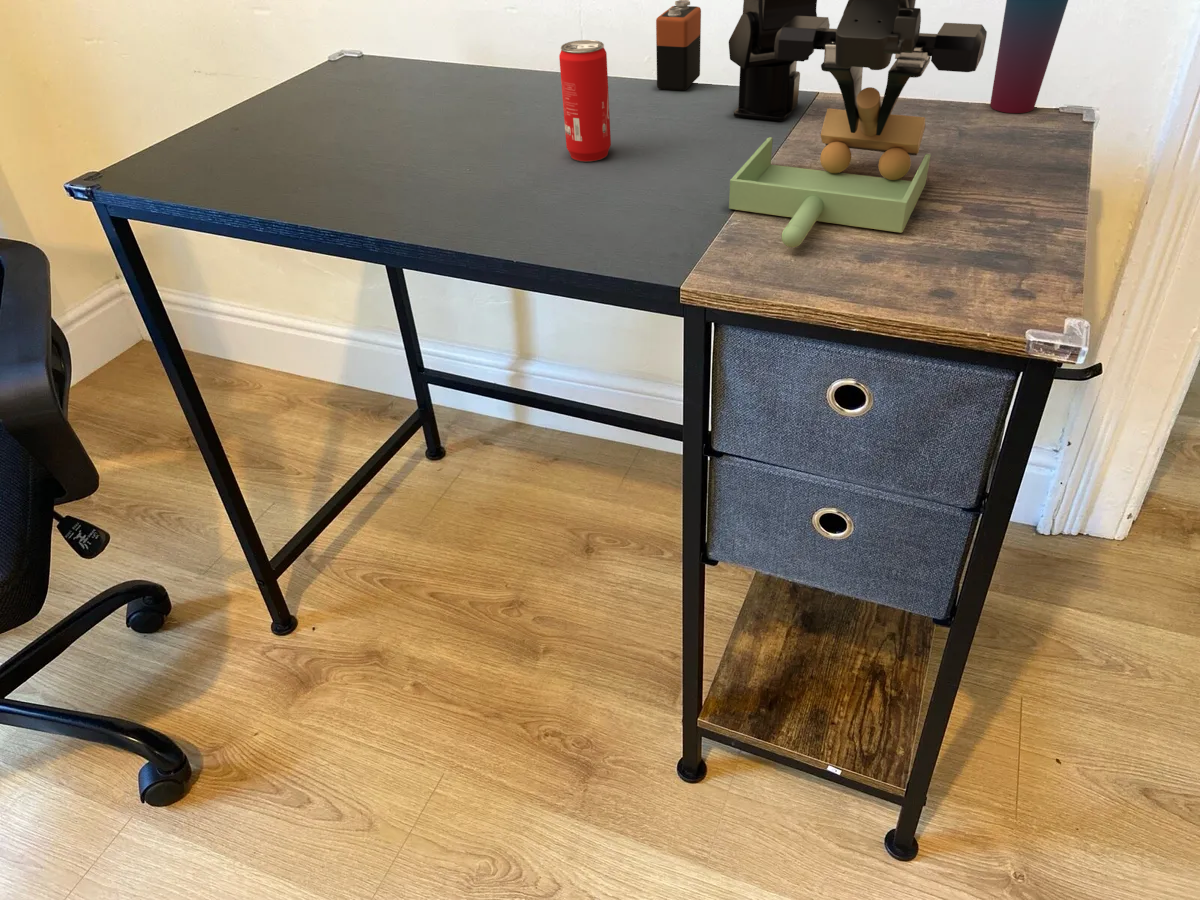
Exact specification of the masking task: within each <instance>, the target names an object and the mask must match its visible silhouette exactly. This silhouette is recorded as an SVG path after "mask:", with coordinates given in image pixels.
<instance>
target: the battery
mask: <svg viewBox="0 0 1200 900" xmlns="http://www.w3.org/2000/svg"><path fill="white" fill-rule="evenodd" d="M701 27H702V9H701V7H700V6H693V5H691V1H690V0H675V1H674V5H672V6H670V7H669V8H668V9H667V10H665V11H664V12H662V13H661V14H660V15H659V16H658V17H656V19H655V36H656V37H655V41H656V44H655V45H656V50H655V51H656V87H657V89H659V90H667V91H686V90H687V89H689V88H690V86H691V85H692V84H693V83H694V82H695V81H697V79H699V77H700V75H701V37H702V36H701V34H702V33H701V32H702V28H701Z"/></svg>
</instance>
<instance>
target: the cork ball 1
mask: <svg viewBox="0 0 1200 900" xmlns="http://www.w3.org/2000/svg"><path fill="white" fill-rule="evenodd" d="M819 160H820V164H821V167H822V168H823V170H824V171H828V172H830V173H843V172H844V171H845V170H846V169H847V168H848V167H849V166H850V164H851V163H852V162H851V161H852V151H851V148H849V147H848V146H847V145H846V144H844V143H842V142H832V143H830V144H828V145H827V146H826V145H825V146H824V148H823V149H822V151H821V153H820V158H819Z"/></svg>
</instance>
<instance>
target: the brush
mask: <svg viewBox="0 0 1200 900" xmlns="http://www.w3.org/2000/svg"><path fill="white" fill-rule="evenodd" d="M881 101H882V99H881V93H880V92H879V90H878V89H877V88H875V87H873V86H872V87H869V86H868V87H865V88H863V89H861V91H860V92H859V94H858V96H857V107H858V114H859V122H858V127H857V131H856V132H855V133H851V131H850V126H849V122H848V118H847V113H846V109H839V108H830V107H829V108H828V107H827V109H826V113H825V116H824V121H823V123H822V127H821V131H820V139H821V144H825V147H826V146H827V145H828V144H830V143H832V142H842V143H844V144H846V145H847V146H848V147H849V149H850V150H852V149H853V150H861V151H871V152H879V153H884V152H886V151H887V150H889V149H891V148H901V149H903V150H905V151H906V152H907V153H908V154H909V156H917V155H918V154H919V152H920V147H921V144H922V141H923V137H924V133H925V129H926V117H924V116H915V115H905V114H904V115H903V114H892V113H891V114H890V116H889V119H888V121H887V123H886V125H885V127H884V129H883V131H882V133H881V135H880V136H879V135H876V131H877V122H878V117H879V114H880V110H881V106H882V102H881Z"/></svg>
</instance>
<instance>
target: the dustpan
mask: <svg viewBox="0 0 1200 900" xmlns="http://www.w3.org/2000/svg"><path fill="white" fill-rule="evenodd" d="M773 139H774V138H773V137H770V136H768V137H767V138H766V139H765V140H764V141H763V143H762V144H761V145H760V146H759V147H758V148H757V149H756V150H755V152H753V154H752V155H751V156H750V157H749V158H748V159H747V160H746V162H745V163H744V164H743V165H742V166H741V167H740V168H739V170H738V171H737V172H736V173H735V174H734V175H733V176H732V178H730V180H729V197H728V209H729V210H736V211H743V212H748V213H749V212H750V213H757V214H763V215H770V216H771V215H772V216H778V217H784V218H785V217H786V218H791V219H790V220H789V222H788V223H787V224H786V226H785V228H784V229H783V230H782V233H781V241H782V243H783V245H784V246H786V247H788V248H790V249H791V248H797V247H799V246H800V245H802V243H803V241H805V238H806V237H807V236H808V234H809V233H810V231H811V230H812V228H813V226H814V225H815V223H816V222H821V223H829V224H835V225H842V226H849V227H857V228H863V229H871V230H872V229H874V230H877V231H878V230H879V231H885V232H894V233H898V234H899V233H900V234H902V233H903V232H904V230H905V228H906V226H907V224H908V222H909V220H910V217H911V215H912V214H913V211H914V209H915V207H916V206H917V203H918V201H919V200H920V197H921V195H922V192H923V190H924V188H925V186H926V183H927V179H928V172H929V165H930V162H931V153H925V155H924V156H923V159H922V161H921V163H920V165H919V167H918V168H917V171H916V172H915V173H914V174H915V175H914V176H913V178H912V180H904V179H898V180H889V179H886V178H884V177H879V176H873V175H872V176H871V175H863V174H856V173H855V174H853V173H846V172H839V173H830V172H828V171H826V170H821V169H820V170H819V169H812V168H803V167H795V166H787V165H779V164H772V154H773Z"/></svg>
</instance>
